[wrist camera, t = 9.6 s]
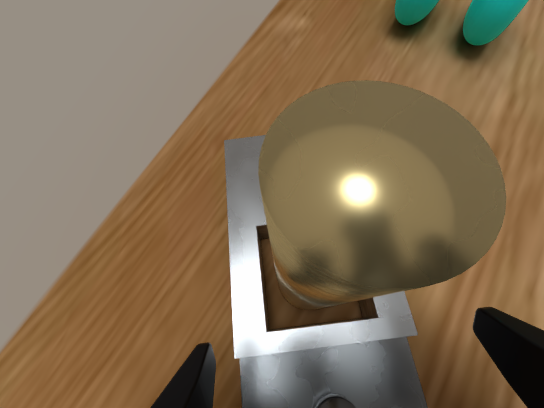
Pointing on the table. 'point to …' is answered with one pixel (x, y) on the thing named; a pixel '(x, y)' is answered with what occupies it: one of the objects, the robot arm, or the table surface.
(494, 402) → the table surface
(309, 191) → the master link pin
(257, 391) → the bolted metal plate
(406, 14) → the donuts
